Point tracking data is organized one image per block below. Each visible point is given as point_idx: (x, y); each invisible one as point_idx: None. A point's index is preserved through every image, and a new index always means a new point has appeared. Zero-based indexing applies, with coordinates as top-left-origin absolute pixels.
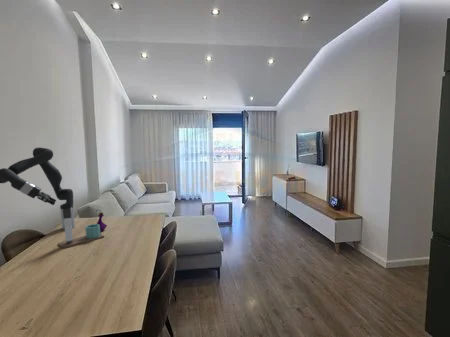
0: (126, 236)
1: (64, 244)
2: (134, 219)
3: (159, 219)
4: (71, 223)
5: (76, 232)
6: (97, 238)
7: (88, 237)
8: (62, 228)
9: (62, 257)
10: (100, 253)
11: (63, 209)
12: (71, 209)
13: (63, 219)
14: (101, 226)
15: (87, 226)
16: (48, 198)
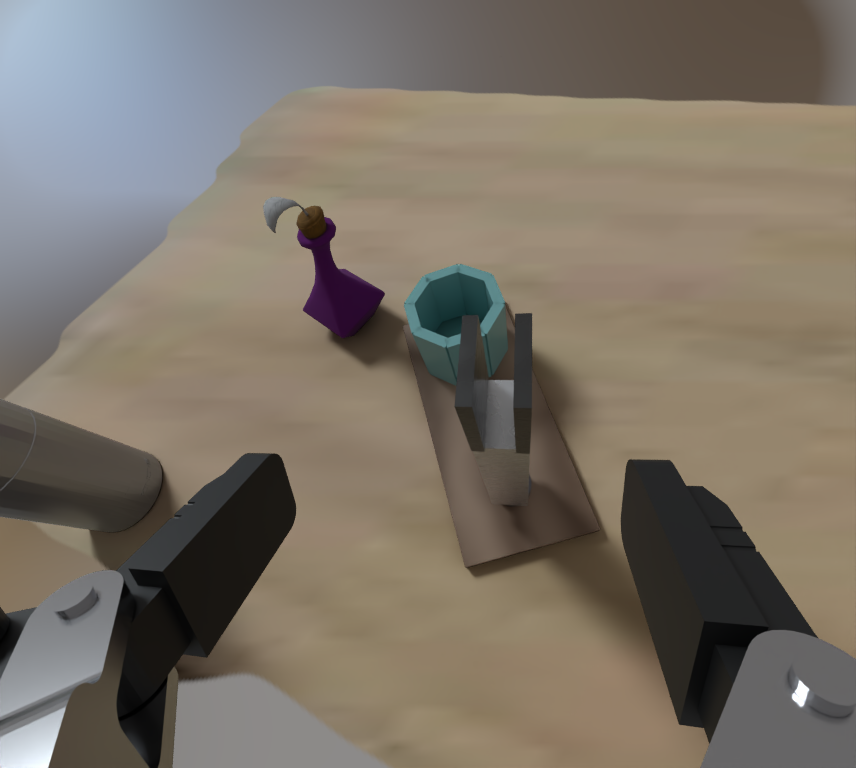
0: (558, 205)
1: (530, 521)
2: (284, 176)
3: (375, 93)
4: (131, 459)
5: (275, 443)
6: (514, 328)
7: (494, 369)
8: (120, 528)
9: (808, 542)
10: (820, 319)
11: (469, 401)
12: (12, 410)
13: (68, 503)
14: (371, 287)
15: (438, 334)
16: (770, 731)
